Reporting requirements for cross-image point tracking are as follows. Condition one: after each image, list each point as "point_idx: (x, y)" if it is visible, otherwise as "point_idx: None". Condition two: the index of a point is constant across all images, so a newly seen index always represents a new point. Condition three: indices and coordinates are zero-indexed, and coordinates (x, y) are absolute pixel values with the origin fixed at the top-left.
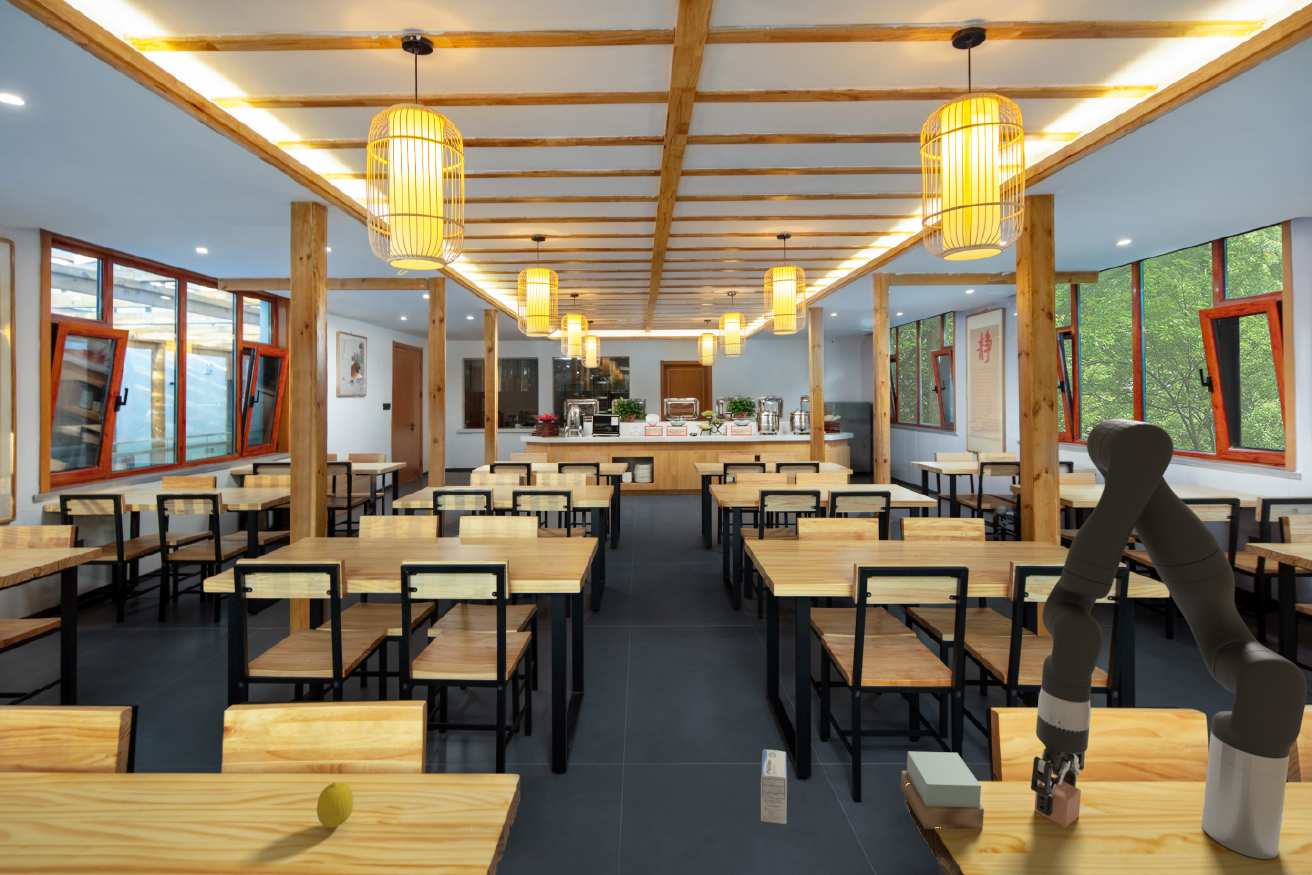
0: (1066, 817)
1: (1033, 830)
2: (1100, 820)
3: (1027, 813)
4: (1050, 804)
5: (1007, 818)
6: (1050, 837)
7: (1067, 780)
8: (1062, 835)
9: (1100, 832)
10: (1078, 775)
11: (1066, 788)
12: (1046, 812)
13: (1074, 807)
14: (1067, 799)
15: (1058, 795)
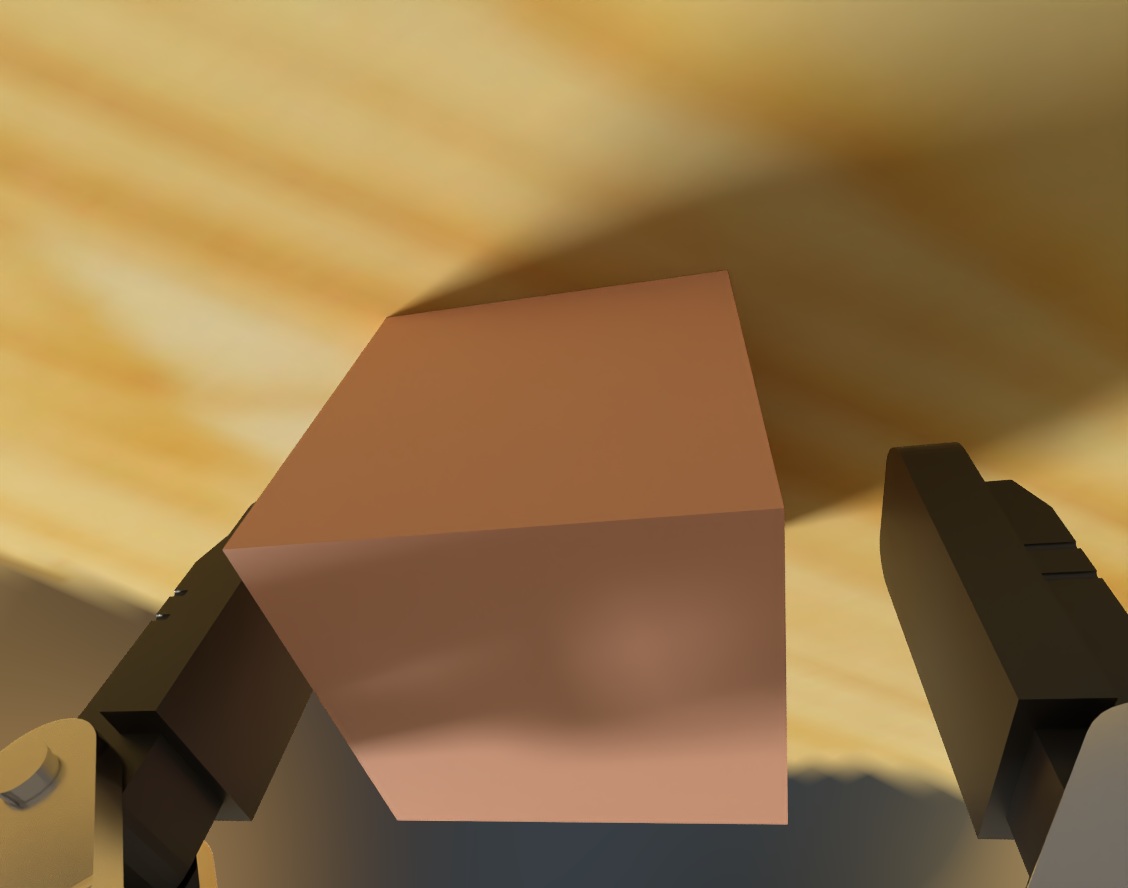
0: (740, 333)
1: (1114, 397)
2: (190, 165)
3: (855, 542)
4: (1036, 571)
5: (1109, 581)
6: (1098, 246)
7: (246, 698)
8: (920, 203)
9: (380, 10)
10: (34, 749)
11: (441, 650)
12: (1027, 492)
13: (488, 389)
14: (726, 528)
15: (754, 632)
